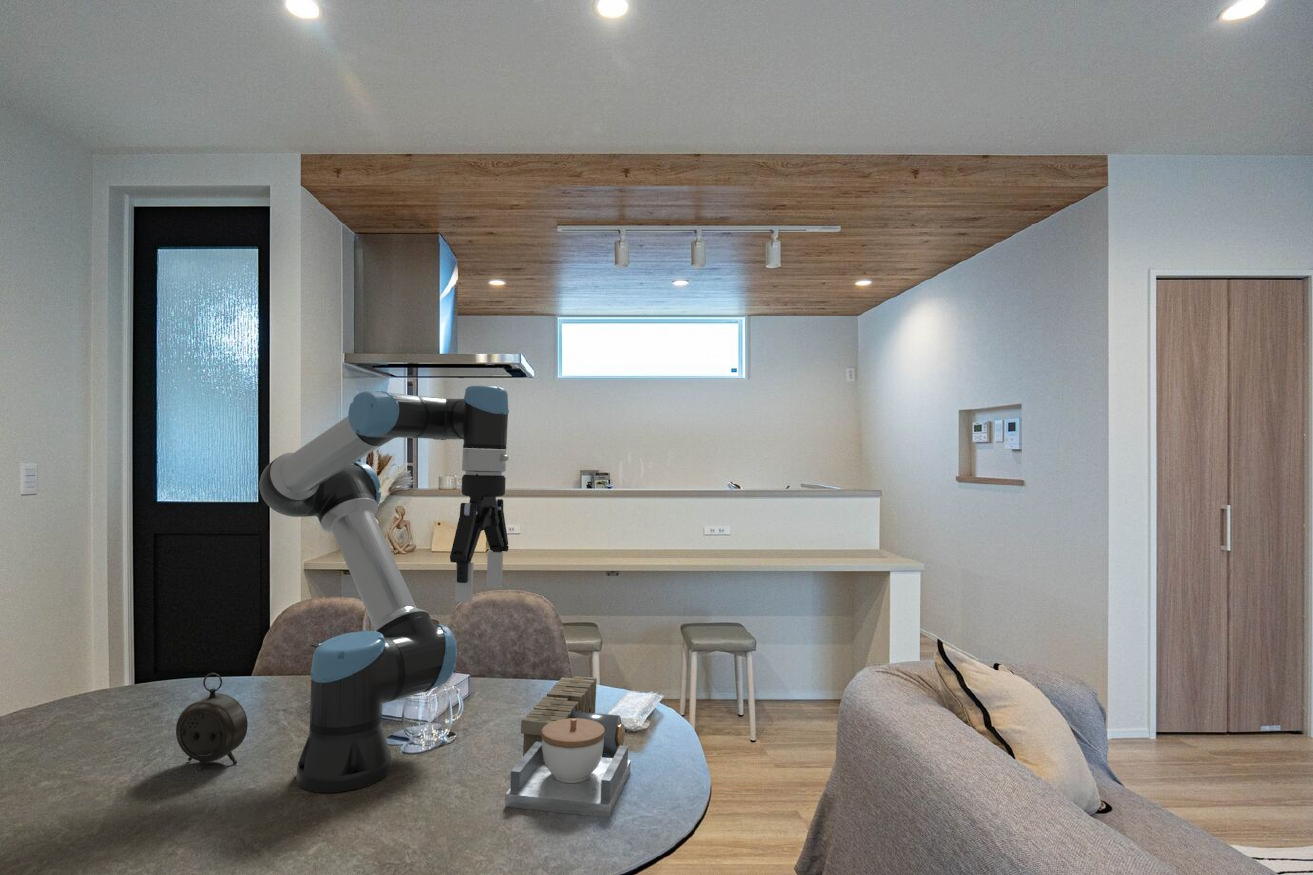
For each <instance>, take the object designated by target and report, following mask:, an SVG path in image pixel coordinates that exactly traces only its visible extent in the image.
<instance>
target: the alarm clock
mask: <svg viewBox="0 0 1313 875" xmlns="http://www.w3.org/2000/svg"><path fill="white" fill-rule="evenodd" d="M213 675H214V676H217V678H218V679H219V681H220V682H219V683H220V684H219V686H218V688H213V687H212V688H208V687H207V685H206V680H207V678H208V677H209V676H213ZM202 683H203V687H204V689H205V690H206V691H208V692H209V694H207V695H205V696H203V697H202V698H200V699H198V700H196V701H194V702H193V703H191V704H189V705H188V706H187V707H185V708H184V709H183V711H182V712H181V713H180V714H179V717H178V718H177V721H176V726H175V736H176V740H177V743H178V745H179V748H180V749H181V750H182V751H183V753H185V755H187V756H188V758H187V761H188V762H190V761H192V760H195V761H197V762H198V767H197V770H198V771H200V770H202V768H203V767H204V766H203V765H204V763H211V762H215V761H219V760H221V759H223V758H224V757H225V756H227V757H228V758H229V760H231V762H232V764H233V765H237V763H238V761H237V760H236V758H235V755H234V754H233V751H234V750H236V749H237V748H239V747H240V745H242V743H243V741H244V740H245V738H246V735H247V732H248V723H249V722H248V717H247V713H246V710H245V709H244V708H243V706H242V704H240V702H239V701H238V700H236V699H235V698H234V697H233V696H230V695H228V694H225V693H218V690H220V688H221V687H222V685H223V679H222V677H221V675H220V674H218V673H216V672H211V673H207V675H205V676H204V677H203V682H202ZM216 692H217V693H216Z"/></svg>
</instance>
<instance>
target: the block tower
mask: <svg viewBox="0 0 1313 875" xmlns="http://www.w3.org/2000/svg"><path fill="white" fill-rule="evenodd" d="M596 699H597V677H594V676H593V677H592V676H586V677H585V676H577V675H575V676H573V677H572V678H570V677H561V678H560V679H559V680H558V681H556V684H554V685H553V687H552V688H551V689H550V690H549V691H548V692H547V693H546V696H542V698H541V699H540V701H539V702H538V703H536V705H535V706H533V709H532V710H531V711H530V712H529V713H528V714H527V715H525V716H526V717H523V718H522V719H521V723H520V734H523V745H522V746H523V748H522V757H523V756H524V755H525V754H526V753H527V752H528V750H529V749H530V748H531V747H532V746H533V744H534V743H535V742H536V741H537V740H538V739H539V738H541V739H542V736H541V732H542V729H543V727H544V726H545V725H547V724H548V723H551V722H553V721H556V720H561V719H569V718H570V715H571V713H572V712H585V713H596V704H597V703H596V702H597V701H596Z"/></svg>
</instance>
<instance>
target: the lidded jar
mask: <svg viewBox="0 0 1313 875" xmlns="http://www.w3.org/2000/svg"><path fill="white" fill-rule="evenodd" d="M541 736H542V752H543V758H544V762H545V765H546V767H547V768H548V770H549V771H550V772H551V773H552V774H553V775H554V777H555V779H556V780H558V781H560V782H564V783H578V782H582V781H585V780H587V779H588V778H589V777H590V774H592V773H593V772H594V771H595V769H596V768H597V767H598V765H599V763H600V760H601V757H603V755H604V754H603V746H604V736H605V729H604V727H603V725H601V724H600V723H598V722H596V721H593V720H588V719H581V718H569V719H561V720H556V721H553V722H551V723H548V724H547V725H545V726H544V727H543V729H542V732H541Z"/></svg>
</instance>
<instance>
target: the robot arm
mask: <svg viewBox="0 0 1313 875" xmlns="http://www.w3.org/2000/svg"><path fill="white" fill-rule="evenodd" d="M464 392H465V393H464V396H463V398H445V397H444V398H443V397H436V396H435V397H434V396H423V395H412V394H403V393H395V392H394V393H393V392H387V391H383V390H381V391H380V390H379V391H378V390H375V391H369V390H368V391H361V392H359V393H357V394H355V395H354V397H353V399H352V402H351V403H350V404H349V407H348V416H345V417H344V418H342V419H341V420H340V421H338V422H337V423H336V424H334V425H332V426H331V427H330V428H328V429H327V430H325V431H323V433H321V434H319V435H318V436H316V437H315V438H313V439H311V441H309V442H307V443H306V444H305V445H303V446H302V447H300V448H298V450H296V451H295V452H286V453H283V454H281V455H279V456H278V457H276V458H274V460H272V461H271V462H269V463H268V464H267V465H266V467H264V469H263V471H262V473H261V475H260V477H259V478H260V479H259V484H258V485H259V492H260V495H261V497H262V500H263V501H264V502H265V504H266V505H267V506H268V507H270V508H271V509H272V510H273V511H274V512H276V513H278V514H281V515H283V516H286V517H292V518H293V517H294V518H300V517H302V518H303V517H304V518H305V517H316V518H317V519H318V522H319V524H320V526H321V528H322V529H323V531H325V532H327V533H331V534H333V537H334V539H335V541H336V543H337V545H338V548H339V551H340V553H341V555H342V557H343V560H344V562H345V564H346V566H347V569H348V572H349V574H350V576H351V578H352V580H353V582H354V585H355V587H356V590H357V592H358V595H359V598H360V600H361V602H362V604H363V606H364V609H365V611H366V613H367V615H368V617H369V618H368V619H369V620H370V622H371V625H372V628H373V630H359V631H356V632H354V631H351V632H347V633H341V634H339V635H336V636H333V637H330V638H329V639H326V640H324V641H323V642H322V643H320V644H319V645H318V646H317V647H316V649H315V650H314V652H313V654H312V660H311V669H310V673H309V675H310V679H311V680H310V701H309V702H310V704H309V705H310V706H309V709H310V711H309V732H308V735H307V739H306V741H305V744H304V747H303V750H302V752H301V755H300V758H299V760H298V763H297V766H296V779H295V780H296V784H297V785H298V786H299V787H300V788H302V789H304V790H306V791H309V792H315V793H342V792H348V791H353V790H358V789H361V788H364V787H366V786H367V787H368V786H370V785H372V784H374V783H376V782H378V781H380V780H382V779H384V778H385V777H386V776H387V775H388V774H389V773H390V772H391V768H392V754H391V750H390V747H389V743H388V741H387V740H388V739H387V737H386V734H385V730H384V727H383V705H384V704H387V703H389V702H394V701H396V700H400V699H403V698H406V697H407V698H408V697H410V696H413V695H416V694H420V693H427V692H430V691H431V690H432V689H435V688H438V687H441V686H442V685H444V684H445V683H447V682H448V680H449V681H450V678H451V677H452V675H453V673H454V670H455V668H456V665H457V664H456V663H457V658H458V649H457V648H458V647H457V642H456V638H455V636H454V635H455V634H454V633H453V632H452V630H451V629H450V628H449V627H448V626H446V625H443V624H440V623H437V624H434V623H433V620H432V618H431V616H430V614H429V612H428V611H427V610H425V609H421V608H418V607H417V605H416V603H415V601H414V599H413V597H412V595H411V593H410V590H409V588H408V585H407V584H406V581H405V579H404V577H403V575H402V572H401V570H400V569H399V566H398V564H397V561H396V560H395V558H394V556H393V553H392V551H391V549H390V546H389V544H388V542H387V540H386V539H385V536H384V534H383V531H382V529H381V528H380V525H379V522H378V521H377V519H376V518H377V517H376V514H377V513H378V510H379V506H378V505H379V504H380V503H381V502H380V501H381V498H382V492H381V490H380V489H381V482H380V479H379V476H378V474H377V472H376V471H375V469H374V468H372V466H370V465H369V464H367V463H365V462H362V461H360V460H361V459H363V458H364V457H366V456H367V455H369V454H370V453H372V452H374V451H376V449H379V448H380V447H382V446H384V445H385V444H387V443H389V442H390V441H393V440H394V439H395V438H396V439H397V438H402V439H403V438H405V439H406V438H407V439H409V438H410V439H431V440H436V441H437V440H438V441H446V440H463V445H462V461H461V462H462V464H461V465H462V466H461V470H462V471H463V472H464V473H465V474H463V475H462V476H461V494H462V496H465V497H469V501H468V502H461V503H460V507H459V517H458V521H457V526H456V531H455V534H454V538H453V542H452V547H451V551H450V556H449V560H450V561H449V562H450V563H456V564H455V565H456V566H455V589H454V590H455V592H454V593H455V594H454V602H455V603H457V602H458V603H473V594H474V593H473V590H474V588H473V587H474V585H473V584H474V562H472V559H473V557H474V553H475V551H476V547H477V545H478V541H479V538H480V536H481V533H482V531H483V532H484V534H485V537H486V541H487V543H488V547H489V551H487V560H486V561H487V562H486V564H487V566H486V588H494V589H496V588H497V589H502V587H503V570H504V569H503V566H504V552H508V551H509V538H508V533H507V527H506V519H505V512H504V499H503V498H500V497H503V496H504V495H505V494H506V479H507V478H506V476H505V475H503V473H505V472H506V468H507V467H506V466H507V461H509V456H508V455H507V443H508V442H507V440H508V424H509V422H508V419H509V418H508V417H509V413H510V412H509V411H510V410H509V396H508V395H509V394H508V392H507V390H506V389H505V388H503V387H502V386H501V387H499V386H495V385H494V386H492V385H470V386H467V387H466V388H465V391H464ZM498 497H499V498H498Z"/></svg>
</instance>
